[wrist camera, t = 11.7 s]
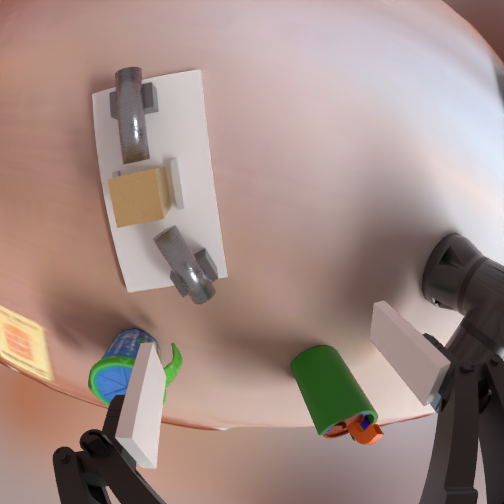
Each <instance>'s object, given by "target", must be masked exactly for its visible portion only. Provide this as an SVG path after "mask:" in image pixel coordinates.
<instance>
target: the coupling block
mask: <svg viewBox="0 0 504 504" xmlns="http://www.w3.org/2000/svg"><path fill="white" fill-rule="evenodd" d="M108 184H109V190H110V195H111V201H112V206H113V211H114V216H115V220H116V225H117V228H120V227H125V226H130V225H135V224H140V223H146V222H151V221H156V220H162V219H164V218H165V216H166V215H167V213H168V212H169V210H170V209H171V207H172V206H171V201H170V194H169V188H168V182H167V175H166V168H165V167H160V168H155V169H150V170H146V171H141V172H136V173H132V174H127V175H123V176H119V177H115V178H111V179H108Z"/></svg>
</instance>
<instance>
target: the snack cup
mask: <svg viewBox="0 0 504 504" xmlns="http://www.w3.org/2000/svg"><path fill="white" fill-rule="evenodd" d="M151 342H153V344H154V346H155V349H156V352H157V354H158V357H159V360H160V362H161V354H160V349H159V346H158V343H157V342H156V340H155V339H153V338H152V337H151V336H150V335H148V334H146V333H145V332H141V331H139V330H138V329H132V330H126V331H124V332H122V333H120V334H119V335H117V337H116V338H115V340H114V341H113V342H112V344H111V345H110V347H109V348H108V350H107V351H106V353H105V354H104V356H103V357H102V359H101V360H100V361H98V362H97V363H96V364H94V366H93V367H92V368H91V370H90V374H89V380H88V387H89V389H90V390H91V392H92V393H93V394H94V395H95V396H96V397H97V398H98V399H100V400H102V401H103V402H104V403H105V404H107V405H108V406H109V405H110V402H111V400H112V399H113V398H114V397H115V395H126V391H127V388H128V384H129V381H130V377H131V374H132V370H133V367H134V363H135V360H136V357H137V354H138V350H139V347H140V344H141V343H151ZM172 349H173V360H172V362H171V363H170V364H168V365H167V366H166V367H165V368H164V369H163V370H164V372H165V375H166V384H165V391H164V399H163V405H164V402H165V398H166V387H167V386H168V385H169V384H170V383H171V382H172V381H173V379H174V378H175V377H176V375H177V373H178V371H179V369H180V366H181V363H182V356H181V353H180V351H179V350H178V348H177V347H176V345H175V344H174V343H172Z"/></svg>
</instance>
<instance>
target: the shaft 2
mask: <svg viewBox="0 0 504 504" xmlns="http://www.w3.org/2000/svg"><path fill="white" fill-rule="evenodd" d="M153 241H154V242H155V244H156V246H157V247H158V249H159V250H160V252H161V254H162V255H163V257H164V258H165V260H166V261H167V263H168V265H169V266H170V268H171V273H170V279H171V280H172V282H173V283H174V285H175V286H176V288H177V289H178V291H179V292H180V294H181V295H182V296H183V297H184V296H186V295H189V296H190V297H191V299H192V300H193V302H194V303H195V304H202V303H204V302H206V301H208V300H209V299H211V298H212V297H213V295H214V294H215V291H216V290H215V288H214V287H213V285H212V284H211V282H212V281H214V280H216V279H218V271H217V266H216V265H215V263H214V261H213V260H212V258H211V256H210V255H209V253H208V251H207V250H206V248H205V249H203V250H201V251H199V252H197V253H195V254H194V255H193V253H192V252H191V250H190V248H189V247H188V245H187V243H186V242H185V240H184V238H183V237H182V235H181V233H180V232H179V230H178V228H177V226H176V225H173V226H171V227H169V228H167V229H165V230H164V231H162V232H161V233H159V234H158V235H157V236H155V237H154V238H153Z"/></svg>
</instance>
